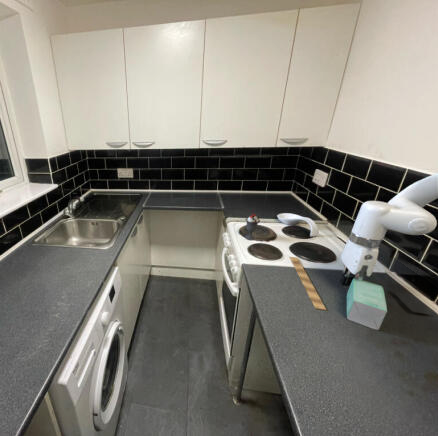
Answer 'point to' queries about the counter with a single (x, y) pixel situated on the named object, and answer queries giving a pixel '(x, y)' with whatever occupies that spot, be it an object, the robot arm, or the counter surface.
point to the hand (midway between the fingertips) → (345, 284)
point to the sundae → (251, 225)
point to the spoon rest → (294, 219)
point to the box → (366, 304)
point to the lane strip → (307, 284)
